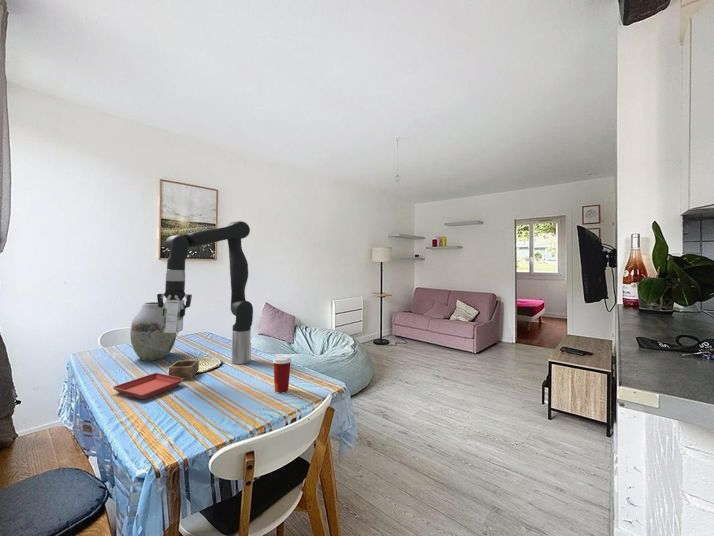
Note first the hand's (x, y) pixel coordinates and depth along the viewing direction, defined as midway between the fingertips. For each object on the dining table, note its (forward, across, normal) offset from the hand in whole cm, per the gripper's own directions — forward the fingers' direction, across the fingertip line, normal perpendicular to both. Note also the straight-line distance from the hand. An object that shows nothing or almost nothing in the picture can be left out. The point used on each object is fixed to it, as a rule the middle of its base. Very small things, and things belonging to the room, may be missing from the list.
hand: (173, 316), depth 138 cm
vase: (+29, +23, -35) cm, 51 cm away
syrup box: (+7, 0, 0) cm, 7 cm away
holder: (+28, -4, -5) cm, 29 cm away
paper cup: (+28, -50, +16) cm, 59 cm away
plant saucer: (+29, +4, +10) cm, 31 cm away
